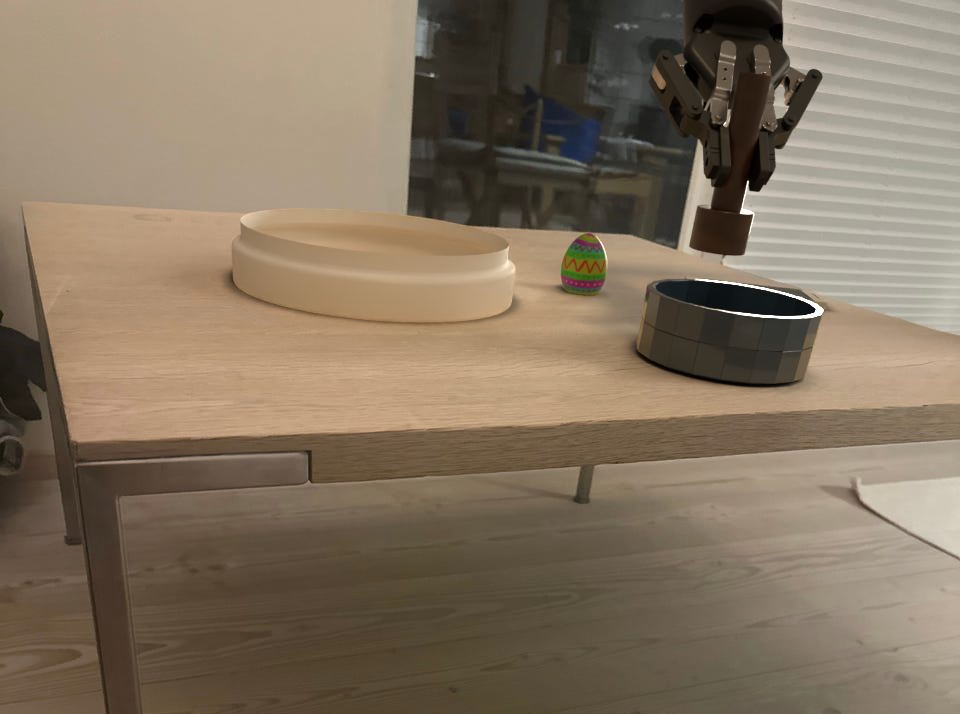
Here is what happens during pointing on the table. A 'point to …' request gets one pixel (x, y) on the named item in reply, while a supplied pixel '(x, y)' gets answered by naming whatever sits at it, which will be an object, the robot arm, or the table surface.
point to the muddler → (734, 174)
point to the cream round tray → (372, 265)
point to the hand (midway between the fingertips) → (740, 181)
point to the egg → (584, 266)
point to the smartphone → (795, 292)
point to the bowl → (728, 331)
